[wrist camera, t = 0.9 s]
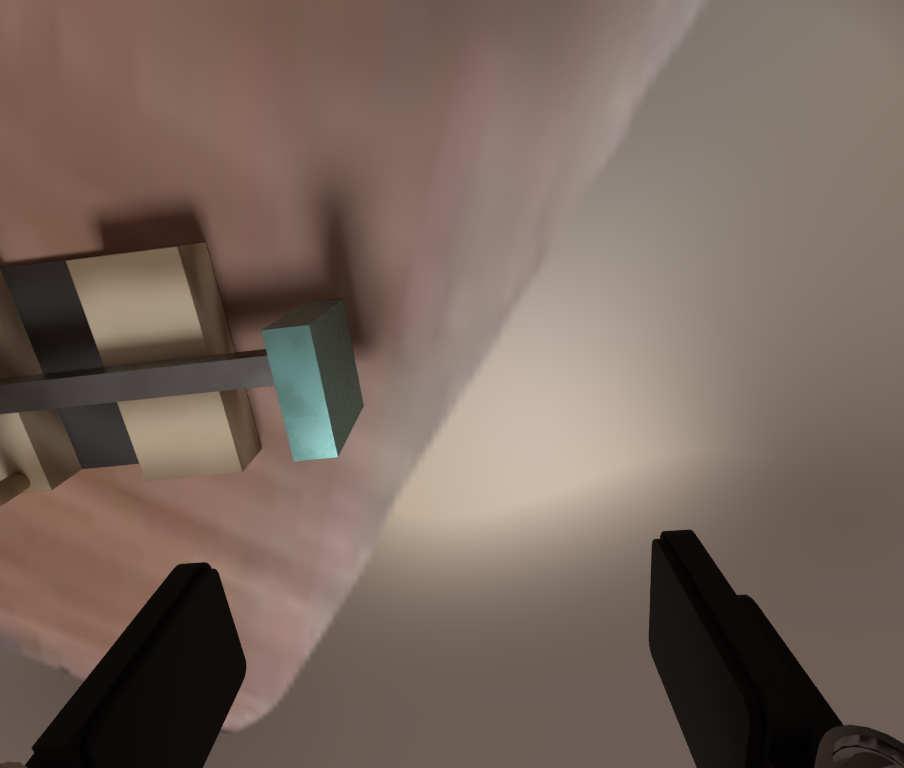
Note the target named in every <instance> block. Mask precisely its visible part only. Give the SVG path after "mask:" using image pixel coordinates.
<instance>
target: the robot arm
mask: <svg viewBox="0 0 904 768" xmlns="http://www.w3.org/2000/svg"><path fill="white" fill-rule="evenodd" d="M649 618H650V619H649V646H650V651H651V654H652V658H653V660H654V663H655V665H656V667H657V670H658V673H659V675H660V677H661V680H662V683H663V685H664V687H665V690H666V693H667V695H668V697H669V700H670V702H671V705H672V707H673V710H674V712H675V715H676V717H677V720H678V722H679V724H680V727H681V730H682V732H683V735H684V737H685V740H686V742H687V745H688V747H689V750H690V752H691V754H692V757H693V759H694V762H695V764H696V767H697V768H904V743H902V742H900V741H898V740H896V739H895V738H893V737H891V736H890V735H888V734H885V733H882V732H880V731H877V730H874V729H871V728H868V727H863V726H856V725H843V724H842V722H841V721H840V720H839V719H838V717H837V715H836V714H835V713H834V711H833V710H832V708H831V707H830V706H829V704H828V703H827V701H826V700H825V699H824V697H823V696H822V694H821V693H820V692H819V690H818V689H817V687H816V686H815V685H814V683H813V682H812V681H811V679H810V678H809V676H808V675H807V674H806V672H805V671H804V669H803V668H802V666H801V665H800V664H799V662H798V661H797V659H796V658H795V657H794V655H793V654H792V653H791V651H790V650H789V648H788V647H787V646H786V644H785V643H784V641H783V640H782V639H781V637H780V636H779V634H778V633H777V632H776V630H775V629H774V627H773V626H772V624H771V623H770V622H769V620H768V619H767V618H766V616H765V615H764V613H763V612H762V610H761V609H760V608H759V606H758V605H757V604H756V602H755V601H754V600H753V599H752V598H751V597H749V596H747V595H736V593H735V592H734V590H733V589H732V587H731V586H730V584H729V583H728V582H727V580H726V579H725V577H724V576H723V574H722V573H721V571H720V570H719V568H718V567H717V565H716V564H715V562H714V561H713V559H712V558H711V557H710V555H709V554H708V552H707V551H706V549H705V548H704V546H703V545H702V543H701V542H700V540H699V539H698V538H697V536H696V534H695V533H694V532H693V531H692V530H677V531H663V532H662V533H661V536H660V539H654V540H653V542H652V559H651V587H650V617H649ZM245 673H246V660H245V656H244V653H243V650H242V647H241V643H240V640H239V637H238V634H237V631H236V627H235V624H234V621H233V618H232V615H231V611H230V608H229V605H228V602H227V599H226V595H225V592H224V589H223V586H222V583H221V579H220V576H219V573H218V571H217V570H216V569H212V568H211V566H210V565H209V564H208V563H205V562H202V563H187V564H179V565H177V566H176V567H175V568H174V569H173V570H172V572H171V573H170V574H169V575H168V577H167V578H166V579H165V580H164V582H163V583H162V584H161V585H160V587H159V588H158V589H157V590H156V592H155V593H154V594H153V595H152V597H151V598H150V599H149V600H148V602H147V603H146V604H145V606H144V607H143V608H142V609H141V611H140V612H139V613H138V614H137V616H136V617H135V618H134V619H133V621H132V622H131V623H130V624H129V626H128V627H127V628H126V629H125V631H124V632H123V633H122V634H121V636H120V637H119V638H118V639H117V641H116V642H115V643H114V645H113V646H112V647H111V648H110V650H109V651H108V652H107V653H106V655H105V656H104V657H103V658H102V660H101V661H100V662H99V663H98V665H97V666H96V667H95V668H94V670H93V671H92V672H91V673H90V675H89V676H88V677H87V678H86V680H85V681H84V682H83V684H82V685H81V686H80V687H79V689H78V690H77V691H76V692H75V694H74V695H73V696H72V697H71V699H70V700H69V701H68V702H67V704H66V705H65V706H64V708H63V709H62V710H61V711H60V712H59V714H58V715H57V716H56V718H55V719H54V720H53V721H52V723H51V724H50V725H49V726H48V728H47V729H46V730H45V731H44V733H43V734H42V735H41V737H40V738H39V739H38V740H37V741H36V743H35V744H34V745H33V746H32V749H33V751H34V754H33V755H32V757H31V758H30V759H29V761H28V762H27V763H26V764H25V765H23V764H21V763H20V762H5V763H1V764H0V768H203V766H204V764H205V762H206V760H207V758H208V755H209V753H210V751H211V749H212V747H213V745H214V742H215V740H216V738H217V736H218V734H219V732H220V730H221V727H222V725H223V723H224V721H225V719H226V717H227V715H228V712H229V710H230V708H231V706H232V704H233V702H234V700H235V697H236V695H237V693H238V691H239V689H240V687H241V685H242V682H243V680H244V677H245Z"/></svg>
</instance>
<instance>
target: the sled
mask: <svg viewBox="0 0 904 768" xmlns="http://www.w3.org/2000/svg"><path fill="white" fill-rule="evenodd" d="M261 331H262V335H263V339H264V343H265V347H266V349H262V350H253V351H244V352H235V353H226V354H217V355H208V356H199V357H190V358H181V359H172V360H163V361H154V362H144V363H135V364H126V365H117V366H108V367H99V368H90V369H81V370H72V371H63V372H54V373H45V374H36V375H27V376H18V377H9V378H0V414H8V413H18V412H27V411H37V410H46V409H56V408H65V407H74V406H84V405H93V404H103V403H112V402H122V401H131V400H141V399H150V398H160V397H169V396H179V395H188V394H198V393H207V392H216V391H226V390H235V389H245V388H254V387H264V386H273V385H275V387H276V391H277V395H278V399H279V403H280V407H281V411H282V415H283V419H284V423H285V427H286V431H287V435H288V439H289V444H290V448H291V452H292V456H293V460H294V461H302V460H312V459H323V458H333V457H338V456H339V454H340V452H341V450H342V448H343V446H344V444H345V442H346V440H347V438H348V436H349V434H350V432H351V430H352V428H353V426H354V424H355V422H356V420H357V418H358V416H359V414H360V412H361V410H362V408H363V406H364V405H363V399H362V394H361V389H360V384H359V379H358V373H357V368H356V363H355V358H354V352H353V347H352V342H351V337H350V331H349V326H348V321H347V316H346V310H345V305H344V300H343V298H342V299H333V300H324V301H316V302H307V303H304V304H302V305H301V306H299V307H298V308H296V309H295V310H293V311H291V312H290V313H288V314H287V315H285V316H283V317H282V318H280V319H279V320H277V321H275V322H274V323H272V324H271V325H269V326H267V327H266V328H264V329H263V330H261Z"/></svg>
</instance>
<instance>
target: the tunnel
mask: <svg viewBox="0 0 904 768" xmlns="http://www.w3.org/2000/svg"><path fill="white" fill-rule="evenodd" d="M226 353H235V349H234V345H233V341H232V338H231V334H230V330H229V327H228V323H227V319H226V316H225V312H224V308H223V305H222V301H221V297H220V293H219V290H218V286H217V282H216V279H215V275H214V271H213V268H212V264H211V260H210V256H209V253H208V249H207V245H206V242H204V243H196V244H188V245H180V246H172V247H164V248H157V249H149V250H141V251H133V252H125V253H117V254H109V255H101V256H93V257H85V258H77V259H69V260H61V261H54V262H46V263H38V264H30V265H22V266H14V267H6V268H0V378H9V377H18V376H27V375H36V374H45V373H54V372H63V371H72V370H81V369H90V368H99V367H108V366H117V365H126V364H135V363H144V362H154V361H163V360H172V359H181V358H190V357H199V356H208V355H217V354H226ZM260 450H261V445H260V441H259V438H258V434H257V430H256V426H255V423H254V419H253V415H252V412H251V408H250V404H249V401H248V397H247V393H246V390H245V389H235V390H226V391H216V392H207V393H198V394H188V395H179V396H169V397H160V398H150V399H141V400H131V401H122V402H112V403H103V404H93V405H84V406H74V407H65V408H56V409H46V410H37V411H27V412H18V413H8V414H0V506H2V505H3V504H5V503H6V502H8V501H9V500H11V499H12V498H14V497H16V496H17V495H19V494H20V493H26V492H37V491H48V490H53V489H54V488H55V487H57V486H58V485H60V484H61V483H63V482H64V481H65V480H67V479H68V478H70V477H71V476H73V475H74V474H76V473H77V472H78V471H80V470H81V469H88V468H98V467H108V466H118V465H129V464H140V467H141V470H142V472H143V475H144V478H145V481H154V480H164V479H175V478H186V477H196V476H207V475H217V474H228V473H239V472H243V471H244V470H245V468H246V467H247V466H248V465H249V464H250V462H251V461H252V460H253V459H254V458H255V456H256V455H257V454H258V453H259V452H260Z"/></svg>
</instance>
